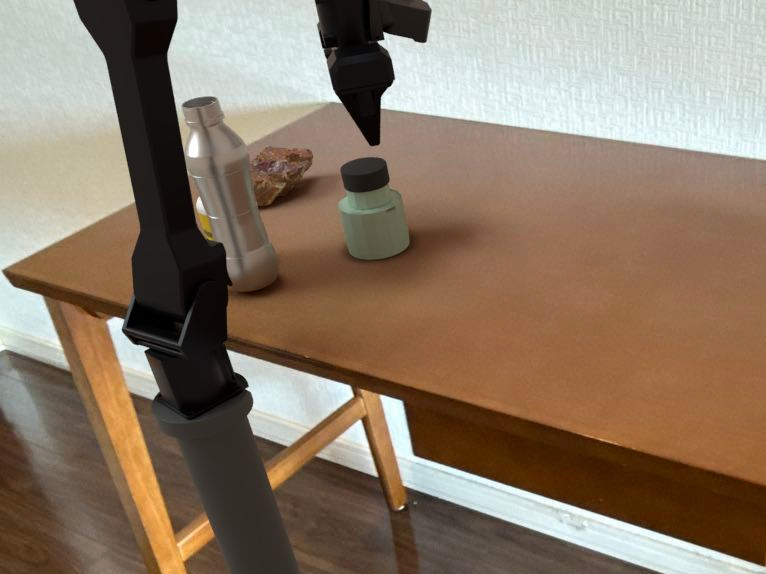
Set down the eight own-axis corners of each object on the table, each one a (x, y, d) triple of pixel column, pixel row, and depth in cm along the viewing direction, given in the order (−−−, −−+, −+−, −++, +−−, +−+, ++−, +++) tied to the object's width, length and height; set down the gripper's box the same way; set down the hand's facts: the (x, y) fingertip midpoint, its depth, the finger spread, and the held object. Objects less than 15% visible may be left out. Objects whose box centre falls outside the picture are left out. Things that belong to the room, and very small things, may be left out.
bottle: (375, 265, 116) (361, 201, 111) (336, 250, 120) (321, 188, 115) (422, 241, 119) (411, 178, 115) (382, 227, 123) (370, 166, 119)
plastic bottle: (220, 281, 116) (162, 100, 103) (279, 266, 118) (228, 86, 105) (228, 304, 112) (168, 118, 99) (289, 289, 113) (237, 104, 100)
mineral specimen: (261, 161, 140) (273, 118, 135) (310, 192, 140) (323, 150, 136) (214, 196, 131) (224, 152, 127) (266, 228, 132) (278, 186, 127)
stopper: (369, 222, 114) (360, 178, 111) (340, 212, 117) (330, 169, 114) (404, 205, 117) (396, 162, 113) (375, 196, 119) (366, 153, 116)
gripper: (431, -21, 95) (457, 146, 105) (405, -59, 109) (430, 92, 119) (312, -1, 94) (350, 166, 104) (301, -43, 107) (335, 109, 118)
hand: (370, 131), depth 111 cm, fingers open, 9 cm apart
